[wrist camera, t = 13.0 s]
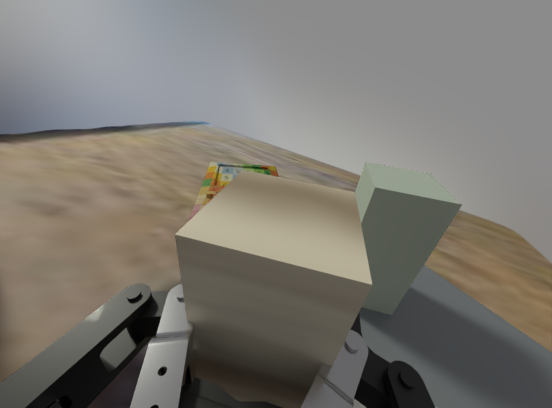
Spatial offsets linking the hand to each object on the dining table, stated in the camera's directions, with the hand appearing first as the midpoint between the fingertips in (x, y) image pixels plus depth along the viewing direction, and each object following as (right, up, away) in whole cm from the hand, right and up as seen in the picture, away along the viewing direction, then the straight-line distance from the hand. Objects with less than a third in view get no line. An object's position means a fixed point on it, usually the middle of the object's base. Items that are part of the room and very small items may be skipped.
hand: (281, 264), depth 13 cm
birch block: (-1, -7, +1) cm, 7 cm away
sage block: (+8, -5, +10) cm, 14 cm away
